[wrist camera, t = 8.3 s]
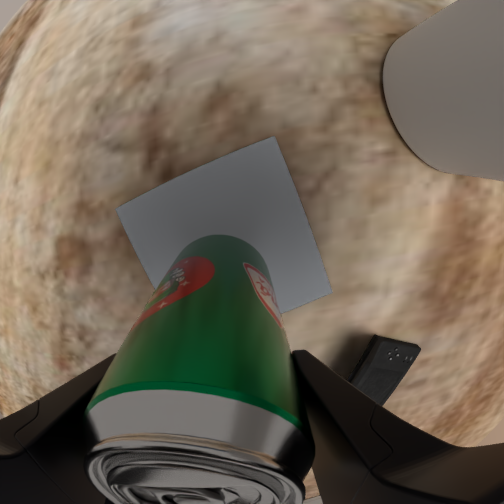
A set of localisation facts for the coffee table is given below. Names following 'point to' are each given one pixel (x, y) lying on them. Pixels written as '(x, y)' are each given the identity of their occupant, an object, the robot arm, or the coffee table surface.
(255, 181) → the slate mat
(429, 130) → the cylinder vase
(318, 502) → the small box
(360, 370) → the handheld gaming console
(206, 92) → the coffee table surface
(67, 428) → the robot arm
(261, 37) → the coffee table surface
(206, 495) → the soda can
